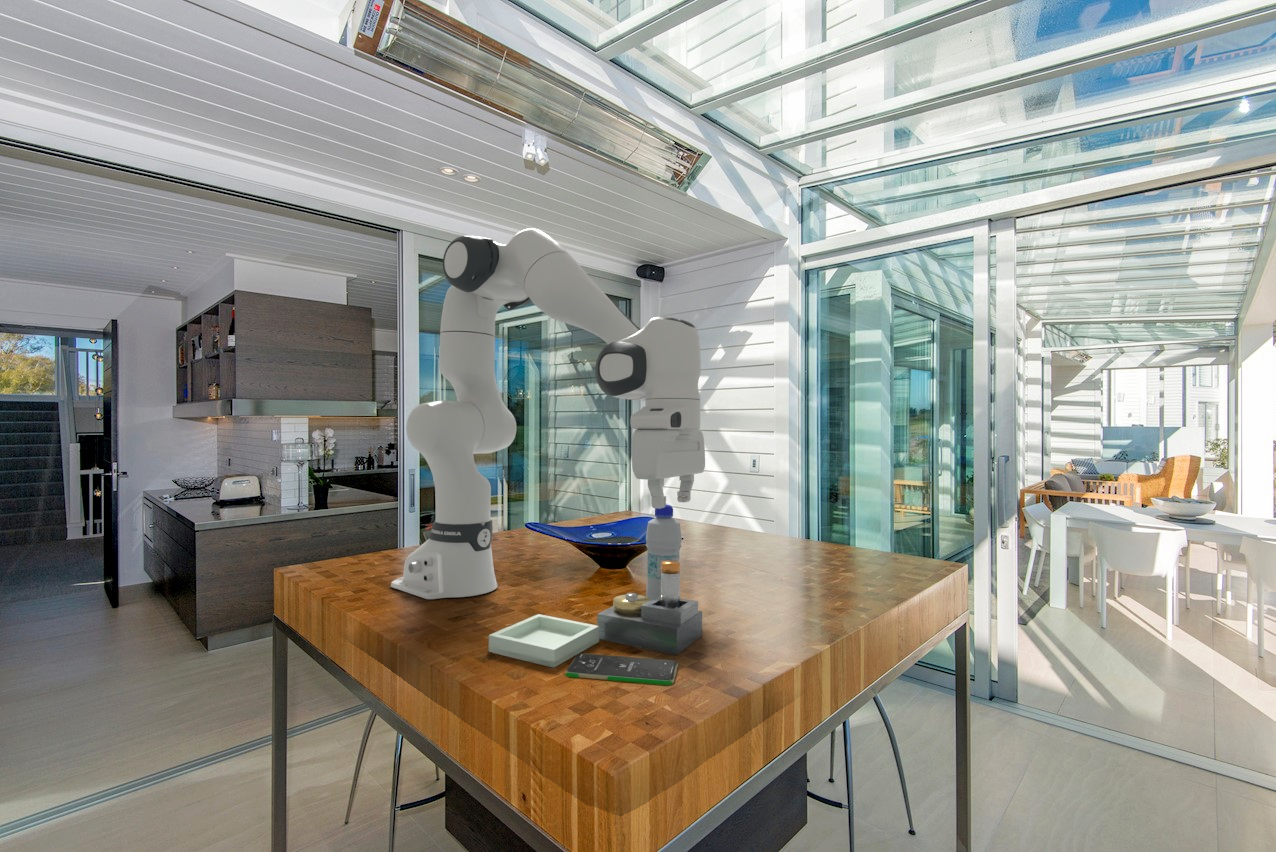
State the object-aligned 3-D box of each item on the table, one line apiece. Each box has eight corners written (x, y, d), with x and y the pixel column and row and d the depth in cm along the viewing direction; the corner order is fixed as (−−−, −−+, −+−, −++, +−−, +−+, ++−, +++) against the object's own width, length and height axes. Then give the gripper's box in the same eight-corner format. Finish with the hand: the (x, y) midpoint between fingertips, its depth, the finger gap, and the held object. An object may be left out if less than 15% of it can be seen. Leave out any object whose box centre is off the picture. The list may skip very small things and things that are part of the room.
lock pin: (657, 616, 95) (658, 563, 95) (665, 611, 97) (666, 559, 97) (674, 619, 93) (675, 565, 93) (682, 614, 96) (683, 561, 96)
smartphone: (673, 681, 79) (563, 672, 81) (673, 688, 79) (563, 679, 81) (678, 659, 86) (577, 651, 89) (678, 666, 86) (577, 658, 89)
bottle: (678, 619, 106) (679, 506, 106) (641, 616, 108) (642, 505, 108) (683, 608, 113) (684, 502, 113) (648, 605, 114) (649, 501, 114)
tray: (488, 651, 90) (488, 635, 90) (538, 628, 100) (538, 614, 100) (553, 667, 84) (554, 649, 84) (598, 641, 94) (599, 625, 95)
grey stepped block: (596, 638, 96) (597, 598, 96) (627, 621, 105) (627, 585, 105) (676, 655, 89) (677, 612, 89) (701, 635, 98) (702, 596, 98)
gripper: (681, 419, 106) (680, 497, 106) (624, 416, 88) (623, 510, 88) (714, 419, 103) (713, 499, 103) (663, 416, 85) (662, 513, 85)
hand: (671, 504), depth 95 cm, fingers open, 8 cm apart
